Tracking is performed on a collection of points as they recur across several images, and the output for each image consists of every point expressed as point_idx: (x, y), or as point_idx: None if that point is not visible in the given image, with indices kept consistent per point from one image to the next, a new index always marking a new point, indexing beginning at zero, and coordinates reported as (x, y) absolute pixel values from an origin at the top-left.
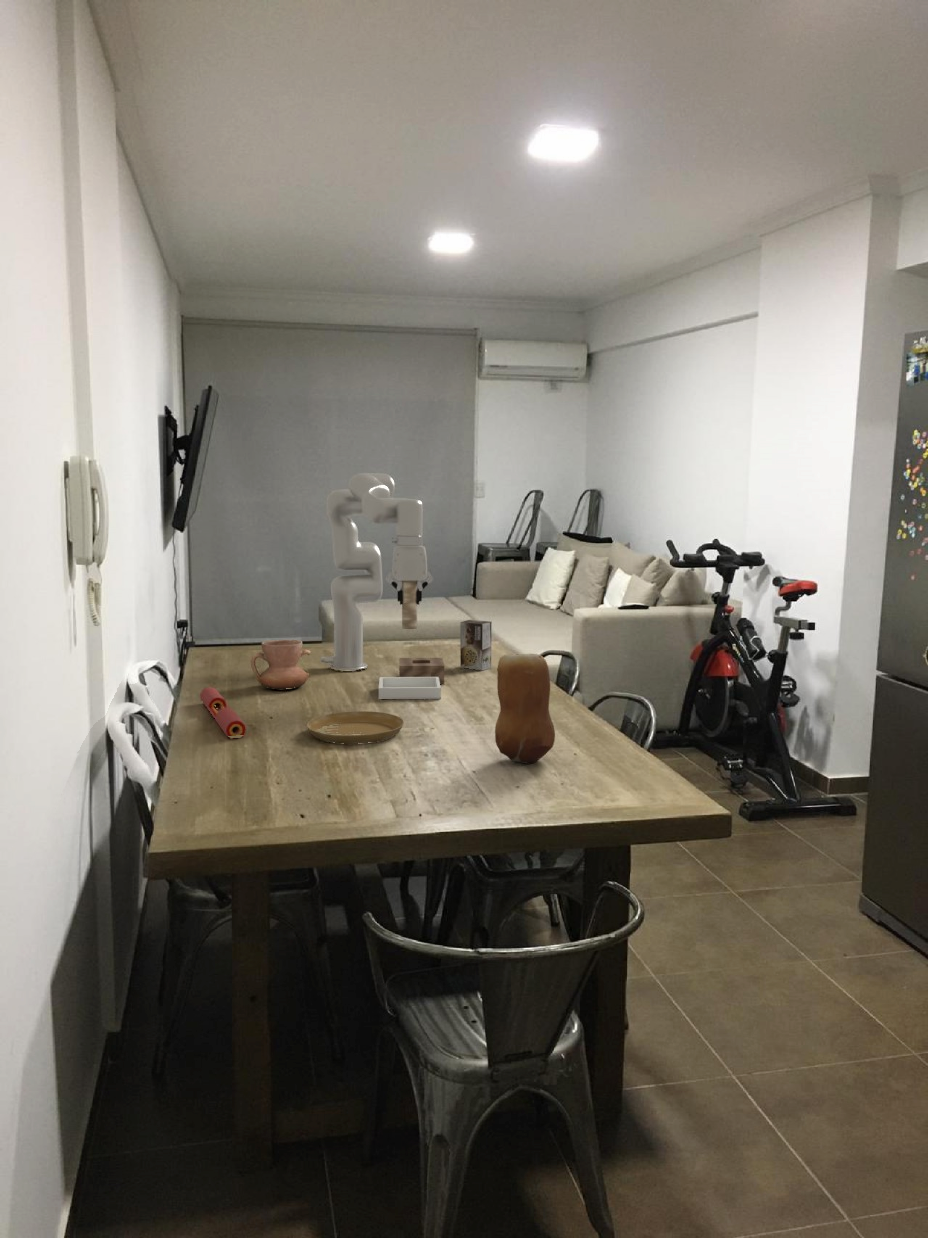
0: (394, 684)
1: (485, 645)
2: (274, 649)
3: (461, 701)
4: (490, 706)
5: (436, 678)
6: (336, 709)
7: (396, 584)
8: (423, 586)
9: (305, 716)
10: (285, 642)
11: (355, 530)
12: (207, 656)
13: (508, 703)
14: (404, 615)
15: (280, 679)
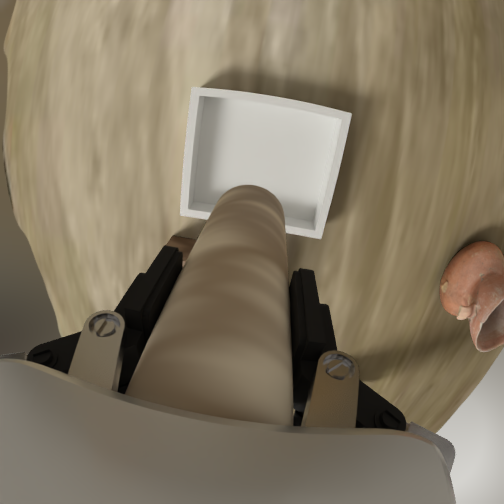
0: (287, 219)
1: None
2: None
3: (158, 69)
4: (114, 29)
5: (186, 197)
6: (436, 63)
7: (358, 415)
8: (73, 346)
9: (481, 42)
10: (483, 346)
11: None
12: (441, 420)
13: None
14: (278, 225)
15: (494, 247)
